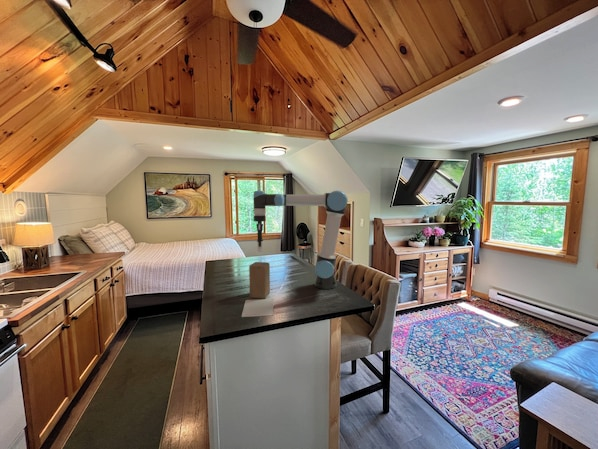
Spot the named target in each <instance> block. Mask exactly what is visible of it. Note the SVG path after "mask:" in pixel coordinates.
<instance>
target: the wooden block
mask: <svg viewBox="0 0 598 449" xmlns="http://www.w3.org/2000/svg"><path fill="white" fill-rule="evenodd" d="M248 271H249V272H248V274H249V275H248V276H249V281H248V282H249V298H250V299H251V298H252V299H267V297H268V296H269V295H270V293H271V284H270V283H271V279H270V276H271V274H270V273H271V272H270V271H271V268H270V262H262V261H255V262H253V263H251V264H250V265H249V266H248Z"/></svg>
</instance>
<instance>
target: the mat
mask: <svg viewBox="0 0 598 449" xmlns="http://www.w3.org/2000/svg"><path fill="white" fill-rule="evenodd" d="M268 316H269V317H270V316H271V317H272V316H273V317H274V298H265V299H260V298H256V299H245V302H244V306H243V310H242V313H241V318H249V317H250V318H251V317H253V318H254V317H268Z"/></svg>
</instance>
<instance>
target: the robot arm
mask: <svg viewBox="0 0 598 449" xmlns="http://www.w3.org/2000/svg"><path fill="white" fill-rule="evenodd" d="M348 199H349V198H348V196H347V194H346V193H345V192H344V191H342V190H337V189H336V190H333V191H330V192H324V194H283V193H281V194H280V193H269V194H268V193H266V191H265V190H255V191H253V210H252V212H253V221H254V222H256V231H257V240H256V242H257V252H263V242H264V240H263V228H264V227H263V226H264V224H263V222H266V220H267V219H266V218H267V217H266V214H267V211H266V210H267V209H266V207H283V206H284V207H285V206H290V207H292V206H296V207H299V206H301V207H302V206H303V207H304V206H305V207H324V208H325V212H326V214H327V216H326V221H325V225H324V226H325V227H324V231H323V238H322V243H321V247H320V252H317V254H316V262H315V265H314V272H315V274H316V277H315V279H314V287H316V288H318V289H322V290H328V289H329V290H330V289H331V288H332V289H334V288H337V279H336V276H335V266H336V261H337V260H336V259H337V256H336V255H335V253H336V247H337V243H338V237H339V230H340V226H341V221H342V217H343V216H345V213H346V207H347V205H348Z"/></svg>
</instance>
